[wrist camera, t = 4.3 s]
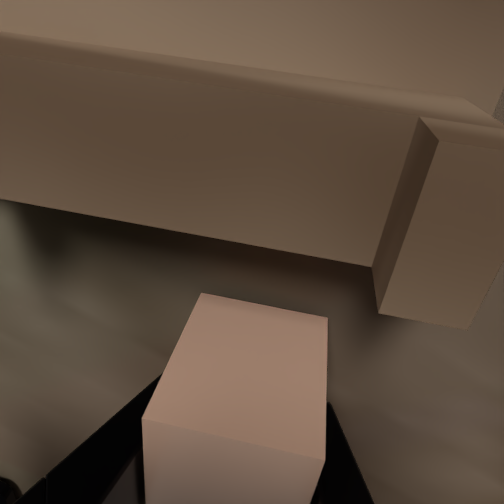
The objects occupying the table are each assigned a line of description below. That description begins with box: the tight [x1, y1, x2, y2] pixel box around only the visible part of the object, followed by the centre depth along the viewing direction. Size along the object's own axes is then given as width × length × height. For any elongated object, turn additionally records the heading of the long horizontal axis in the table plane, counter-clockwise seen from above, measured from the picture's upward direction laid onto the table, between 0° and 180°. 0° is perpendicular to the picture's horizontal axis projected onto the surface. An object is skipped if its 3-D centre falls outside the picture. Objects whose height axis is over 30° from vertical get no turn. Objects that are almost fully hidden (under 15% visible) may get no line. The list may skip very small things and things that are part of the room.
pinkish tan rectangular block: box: [142, 293, 328, 504], centre depth 11 cm, size 10×3×4 cm, turn 174°
